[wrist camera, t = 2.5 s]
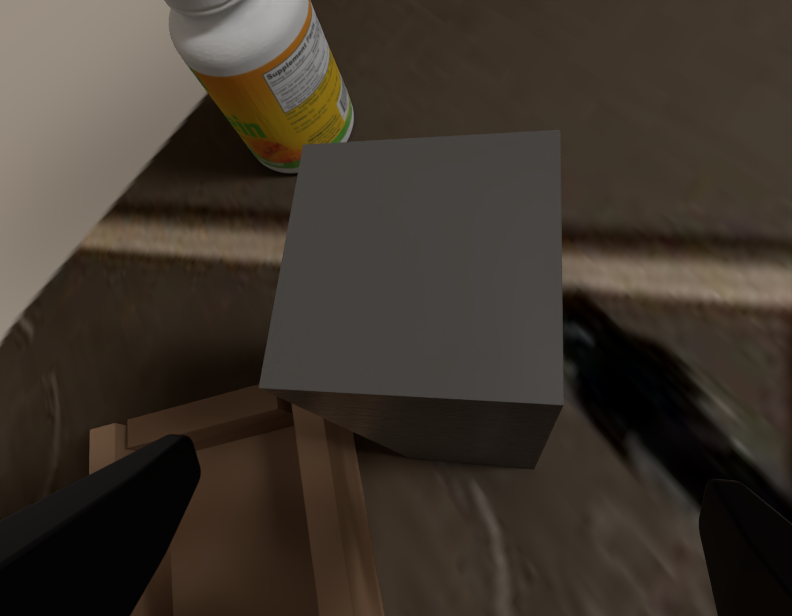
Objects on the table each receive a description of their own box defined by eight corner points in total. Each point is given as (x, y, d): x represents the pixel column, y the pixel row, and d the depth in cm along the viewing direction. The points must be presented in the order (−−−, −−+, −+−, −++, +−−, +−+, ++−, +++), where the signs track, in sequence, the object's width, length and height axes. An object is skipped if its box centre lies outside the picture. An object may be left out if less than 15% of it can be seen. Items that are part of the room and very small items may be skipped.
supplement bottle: (231, 142, 27) (89, -41, 18) (306, 70, 27) (204, -141, 18) (300, 196, 25) (178, 20, 16) (378, 117, 25) (303, -95, 16)
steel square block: (534, 468, 18) (562, 405, 7) (410, 458, 19) (258, 388, 8) (535, 347, 20) (560, 130, 8) (420, 343, 21) (303, 144, 9)
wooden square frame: (390, 634, 18) (360, 664, 15) (160, 680, 19) (84, 718, 16) (347, 390, 21) (315, 369, 18) (153, 440, 22) (90, 429, 19)
